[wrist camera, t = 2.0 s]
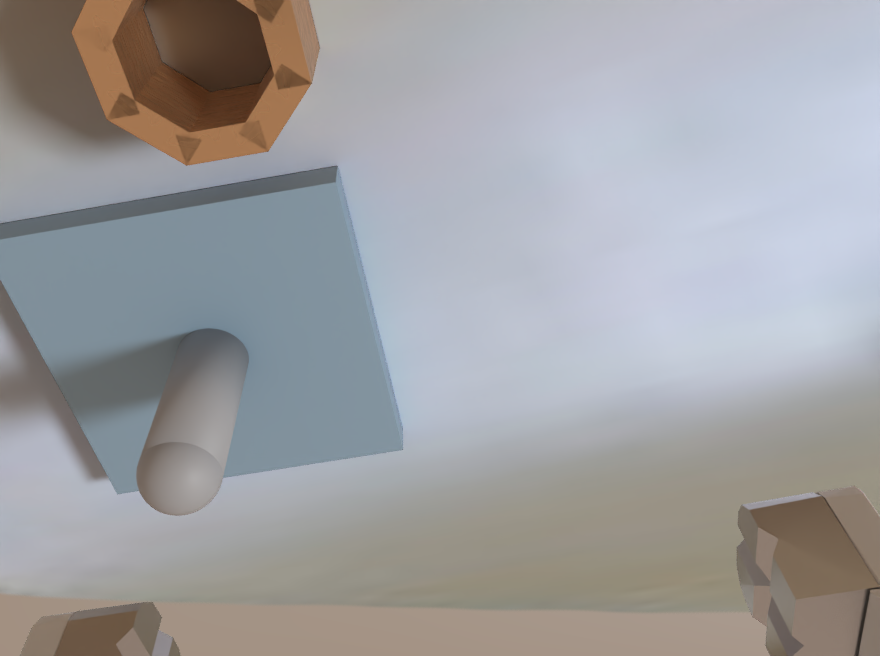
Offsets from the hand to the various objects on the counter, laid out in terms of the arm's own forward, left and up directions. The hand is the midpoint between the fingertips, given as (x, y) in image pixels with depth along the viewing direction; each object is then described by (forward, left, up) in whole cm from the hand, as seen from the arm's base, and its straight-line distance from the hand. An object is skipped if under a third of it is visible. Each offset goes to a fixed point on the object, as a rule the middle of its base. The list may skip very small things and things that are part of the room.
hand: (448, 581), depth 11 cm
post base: (+10, -10, -23) cm, 27 cm away
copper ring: (-3, -6, -23) cm, 24 cm away
